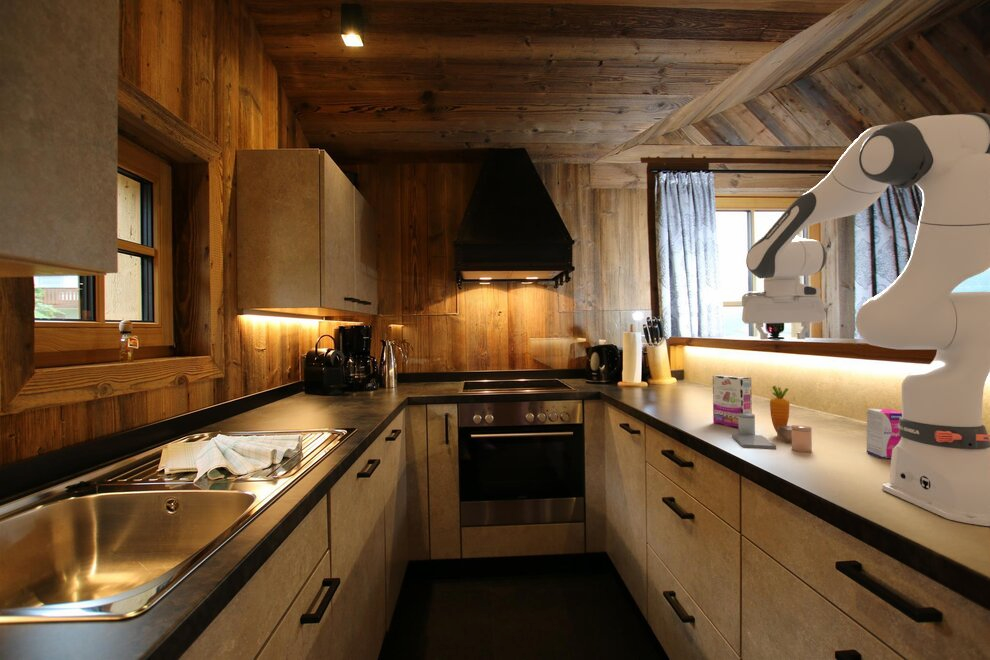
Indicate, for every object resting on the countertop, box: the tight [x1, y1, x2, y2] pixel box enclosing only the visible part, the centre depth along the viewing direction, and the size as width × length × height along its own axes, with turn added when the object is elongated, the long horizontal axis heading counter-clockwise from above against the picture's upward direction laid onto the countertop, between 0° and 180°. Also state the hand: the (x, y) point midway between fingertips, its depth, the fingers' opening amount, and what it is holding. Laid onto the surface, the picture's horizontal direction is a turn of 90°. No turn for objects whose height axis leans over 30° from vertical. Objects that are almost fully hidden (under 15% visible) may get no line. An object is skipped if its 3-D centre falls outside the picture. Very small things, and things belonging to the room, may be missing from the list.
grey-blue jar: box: [737, 413, 756, 435], centre depth 137 cm, size 4×4×6 cm
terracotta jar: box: [791, 424, 813, 453], centre depth 120 cm, size 4×4×6 cm
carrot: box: [769, 385, 790, 433], centre depth 135 cm, size 5×5×15 cm
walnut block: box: [776, 425, 792, 445], centre depth 129 cm, size 5×5×4 cm
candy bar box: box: [712, 374, 753, 429], centre depth 150 cm, size 11×5×16 cm, turn 25°
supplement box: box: [866, 408, 902, 459], centre depth 113 cm, size 6×6×12 cm
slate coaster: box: [731, 433, 777, 450], centre depth 128 cm, size 12×8×1 cm, turn 165°
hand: (782, 339), depth 129 cm, fingers open, 8 cm apart
